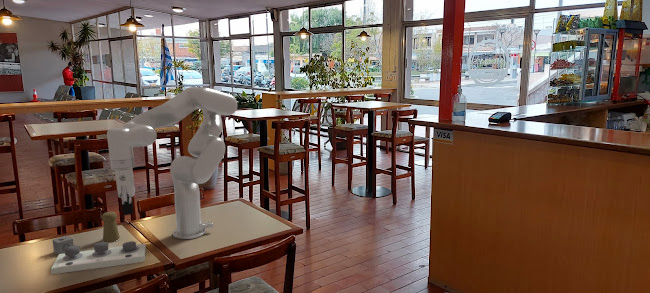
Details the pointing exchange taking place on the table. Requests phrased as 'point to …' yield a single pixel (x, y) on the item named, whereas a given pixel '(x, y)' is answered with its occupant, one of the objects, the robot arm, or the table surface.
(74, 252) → the button
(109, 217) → the cork
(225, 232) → the table surface
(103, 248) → the middle button
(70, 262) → the button board
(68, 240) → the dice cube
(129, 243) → the button
